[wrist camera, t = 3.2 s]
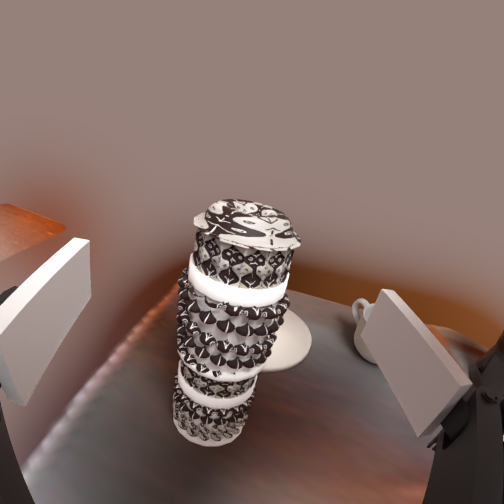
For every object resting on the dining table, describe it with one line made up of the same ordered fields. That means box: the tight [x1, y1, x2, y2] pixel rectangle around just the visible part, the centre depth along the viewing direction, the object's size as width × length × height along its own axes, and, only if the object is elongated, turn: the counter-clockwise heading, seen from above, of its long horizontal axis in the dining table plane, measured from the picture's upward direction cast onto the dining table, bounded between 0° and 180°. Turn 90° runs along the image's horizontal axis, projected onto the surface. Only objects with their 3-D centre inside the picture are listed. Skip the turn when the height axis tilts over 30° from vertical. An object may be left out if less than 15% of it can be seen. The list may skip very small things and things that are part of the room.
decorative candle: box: [173, 199, 301, 447], centre depth 26 cm, size 9×9×25 cm
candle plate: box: [260, 304, 312, 372], centre depth 48 cm, size 19×19×1 cm
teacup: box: [352, 299, 377, 364], centre depth 48 cm, size 14×11×8 cm
